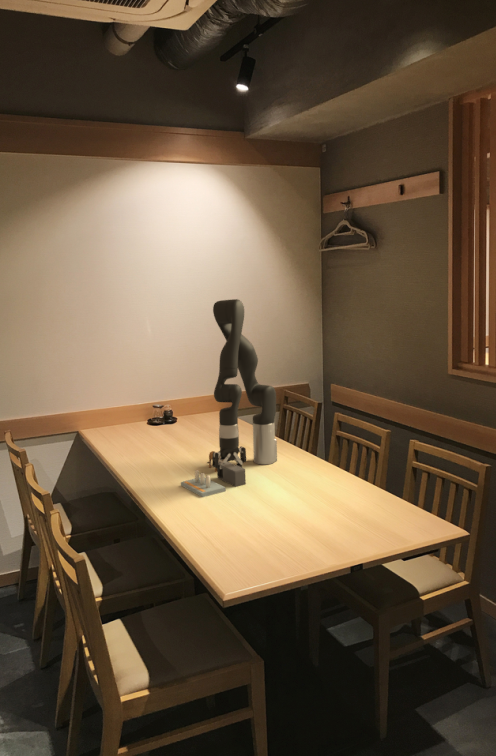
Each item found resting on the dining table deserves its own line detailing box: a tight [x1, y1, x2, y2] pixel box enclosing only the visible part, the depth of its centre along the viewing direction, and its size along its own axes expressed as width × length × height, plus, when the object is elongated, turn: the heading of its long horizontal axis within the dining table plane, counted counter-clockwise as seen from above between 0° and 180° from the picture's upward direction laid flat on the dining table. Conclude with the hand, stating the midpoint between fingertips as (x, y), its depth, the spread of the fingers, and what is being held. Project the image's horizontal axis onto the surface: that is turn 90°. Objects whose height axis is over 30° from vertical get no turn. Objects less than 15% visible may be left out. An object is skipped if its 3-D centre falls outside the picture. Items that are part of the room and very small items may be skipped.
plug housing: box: [217, 461, 247, 488], centre depth 252 cm, size 5×13×6 cm, turn 35°
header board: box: [180, 469, 226, 498], centre depth 244 cm, size 10×16×6 cm, turn 35°
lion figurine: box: [206, 450, 223, 473], centre depth 268 cm, size 15×5×9 cm, turn 34°
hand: (229, 475), depth 252 cm, fingers open, 8 cm apart
